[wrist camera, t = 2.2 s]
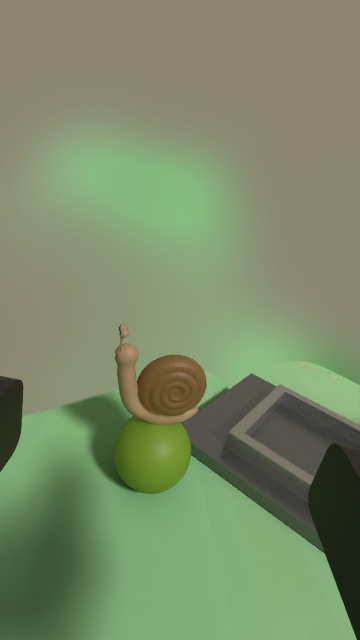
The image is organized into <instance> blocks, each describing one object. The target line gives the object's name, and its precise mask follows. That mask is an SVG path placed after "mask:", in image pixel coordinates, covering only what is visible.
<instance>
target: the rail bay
mask: <svg viewBox="0 0 360 640" xmlns="http://www.w3.org/2000/svg"><path fill="white" fill-rule="evenodd" d="M182 425H183V426H184V428H185V430H186V432H187V434H188V436H189V439H190V444H191V455H193V456H194V457H195V458H197V459H198V460H199V461H201V462H202V463H203V464H205V465H206V466H208V467H209V468H210V469H212V470H213V471H214V472H216V473H217V474H218V475H220V476H221V477H222V478H224V479H225V480H227V481H228V482H229V483H231V484H232V485H233V486H235V487H236V488H237V489H239V490H240V491H241V492H243V493H244V494H246V495H247V496H248V497H250V498H251V499H252V500H254V501H255V502H256V503H258V504H259V505H260V506H262V507H263V508H265V509H266V510H267V511H269V512H270V513H271V514H273V515H274V516H275V517H277V518H278V519H279V520H281V521H282V522H284V523H285V524H286V525H288V526H289V527H290V528H292V529H293V530H294V531H296V532H297V533H298V534H300V535H301V536H302V537H304V538H305V539H307V540H308V541H309V542H311V543H312V544H313V545H315V546H316V547H317V548H319V549H320V550H321V551H323V552H324V549H323V547H322V544H321V541H320V539H319V536H318V533H317V530H316V528H315V525H314V522H313V520H312V517H311V514H310V511H309V506H308V493H309V488H310V485H311V483H312V481H313V479H314V477H315V474H316V472H317V470H318V468H319V466H320V464H321V461H322V459H323V457H324V455H325V453H326V451H327V449H328V447H329V446H330V445H331V444H333V443H336V444H341V445H346V446H351V447H356V448H360V425H358V424H356V423H354V422H352V421H350V420H348V419H346V418H344V417H342V416H340V415H339V414H337V413H335V412H333V411H331V410H329V409H327V408H325V407H323V406H321V405H319V404H317V403H315V402H313V401H312V400H310V399H308V398H306V397H304V396H302V395H300V394H298V393H296V392H294V391H292V390H290V389H288V388H286V387H284V386H283V385H281V384H280V385H278V386H277V387H276V386H275V385H273V384H271V383H269V382H267V381H265V380H263V379H261V378H259V377H257V376H255V375H254V374H250V375H249V376H248V377H246V378H245V379H243V380H242V381H240V382H239V383H238V384H236V385H235V386H233V387H232V388H231V389H229V390H228V391H227V392H225V393H224V394H222V395H221V396H220V397H218V398H217V399H215V400H214V401H213V402H211V403H210V404H208V405H207V406H206V407H204V408H203V409H202V410H200V411H199V412H197V413H196V414H195V415H194V416H192V417H191V418H189V419H188V420H186V421H185V422H184V423H182ZM324 553H325V552H324Z"/></svg>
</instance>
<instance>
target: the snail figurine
mask: <svg viewBox="0 0 360 640" xmlns="http://www.w3.org/2000/svg"><path fill="white" fill-rule="evenodd" d="M119 331H120V346H118V347H117V348H116V350H115V353H116V356H115V360H116V362H117V376H118V384H119V391H120V396H121V399H122V402H123V404H124V406H125V408H126V409H127V411H128V412H129V413H130V414H132V415H133V417H131V418H130V419H129V420H128V421H127V422H126V423H125V424H124V425H123V426H122V427H121V429H120V430H119V432H118V434H117V437H116V439H115V443H114V449H113V458H114V464H115V467H116V470H117V472H118V474H119V476H120V477H121V479H122V480H123V481H124V482H125V483H126V484H127V485H128V486H129V487H131V488H132V489H134V490H136V491H139V492H142V493H149V494H153V493H160V492H163V491H166V490H168V489H170V488H171V487H173V486H174V485H175V484H177V483H178V482H179V481H180V479H181V478H182V477H183V475H184V474H185V472H186V470H187V468H188V465H189V462H190V457H191V444H190V439H189V436H188V434H187V432H186V430H185V428H184V426H183V425H182V424H181V423H182V422H184V421H186V420H188V419H189V418H191V417H192V416H194V415H195V414H196V413H197V412H198V408H197V407H195V406H196V405H197V404H198V403H199V402H200V400H201V399H202V397H203V395H204V393H205V390H206V376H205V373H204V371H203V369H202V368H201V366H200V365H199V364H198V363H197V362H195V361H194V360H193V359H191V358H189V357H186V356H182V355H168V356H164V357H160V358H158V359H156V360H154V361H152V362H151V363H150V364H149V365H147V366H146V367H145V368H144V369H143V370H142V372H141V374H140V376H139V377H138V380H137V381H136V373H135V364H136V361H137V359H138V356H139V355H138V350H137V348H136V347H135V346H134V345H132V344H129V343H125V344H122V341H123V338H126V337H127V336H128V334H129V333H128V327H127V326H126V325H125V324H121V325H120V327H119ZM121 338H122V340H121Z"/></svg>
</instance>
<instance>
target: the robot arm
mask: <svg viewBox="0 0 360 640" xmlns="http://www.w3.org/2000/svg"><path fill="white" fill-rule="evenodd" d="M22 404H23V383H22V381H21V380H18V379H13V378H8V377H3V376H0V472H1V470H2V469H3V467H4V466H5V465H6V463H7V462H8V460H9V459H10V457H11V456H12V454H13V453H14V451H15V449H16V446H17V444H18V441H19V438H20V434H21V425H22ZM308 506H309V511H310V514H311V517H312V520H313V522H314V525H315V528H316V530H317V533H318V536H319V539H320V541H321V544H322V547H323V549H324V552H325V555H326V557H327V560H328V563H329V565H330V568H331V571H332V574H333V576H334V579H335V582H336V584H337V587H338V590H339V592H340V595H341V598H342V601H343V603H344V606H345V609H346V611H347V614H348V617H349V619H350V622H351V625H352V628H353V630H354V633H355V636H356V638H357V640H360V448H356V447H351V446H346V445H341V444H336V443H333V444H331V445H330V446H329V447H328V449H327V451H326V453H325V455H324V457H323V459H322V461H321V464H320V466H319V468H318V470H317V472H316V474H315V477H314V479H313V481H312V483H311V485H310V488H309V493H308Z"/></svg>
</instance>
